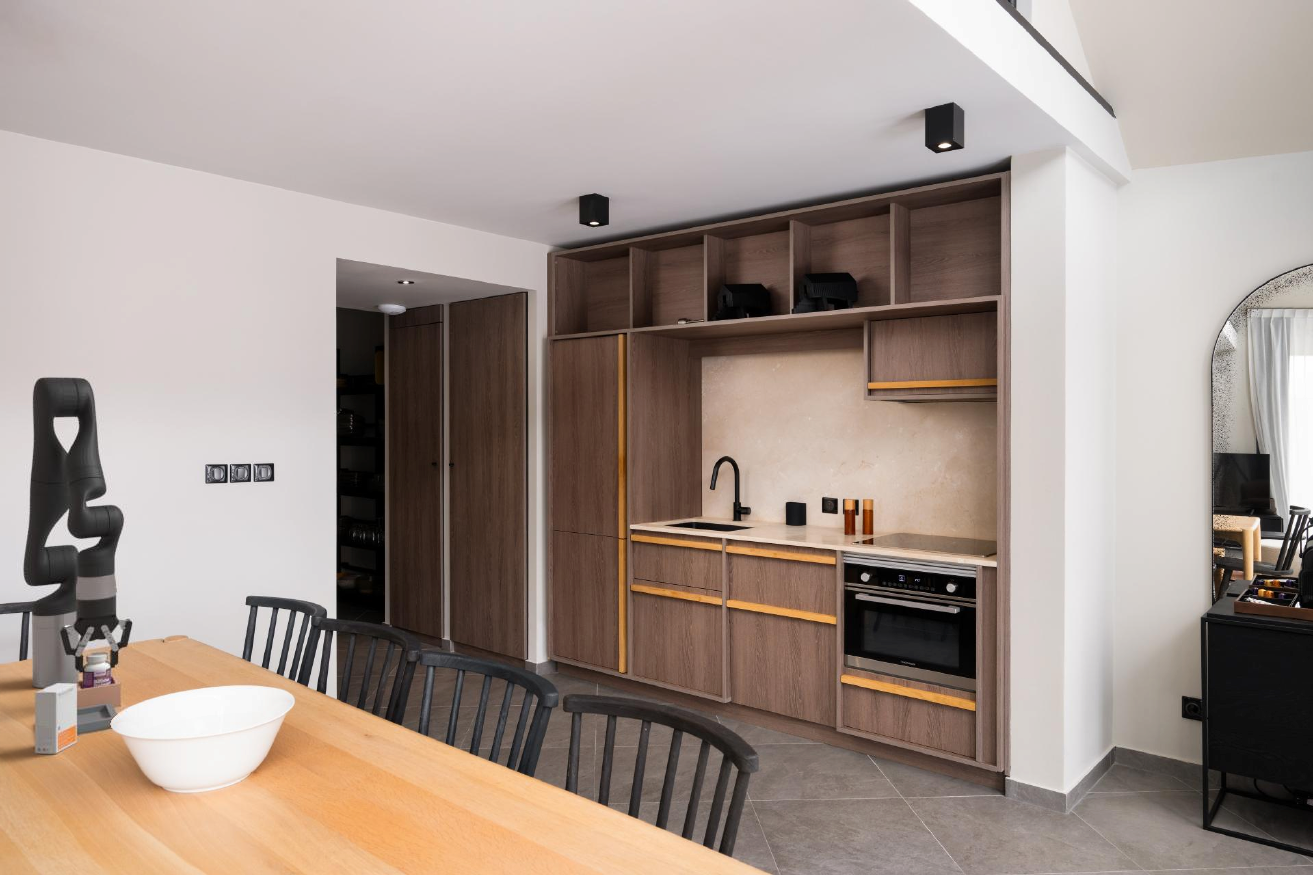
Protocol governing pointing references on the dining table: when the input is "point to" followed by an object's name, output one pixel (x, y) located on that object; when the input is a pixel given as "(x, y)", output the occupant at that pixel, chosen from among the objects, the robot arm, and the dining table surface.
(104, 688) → the open beige tray box
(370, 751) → the dining table surface
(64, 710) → the skincare box
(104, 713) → the charcoal tray
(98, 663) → the pill bottle
